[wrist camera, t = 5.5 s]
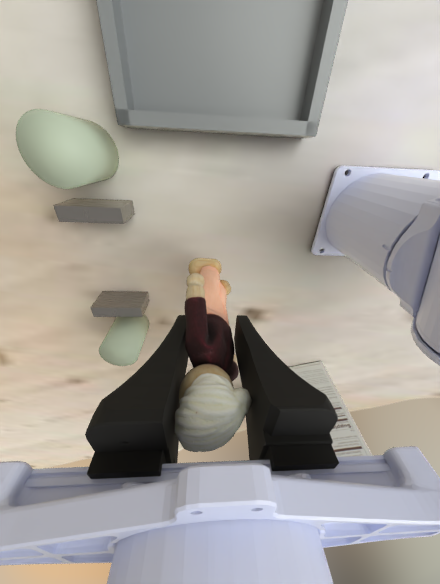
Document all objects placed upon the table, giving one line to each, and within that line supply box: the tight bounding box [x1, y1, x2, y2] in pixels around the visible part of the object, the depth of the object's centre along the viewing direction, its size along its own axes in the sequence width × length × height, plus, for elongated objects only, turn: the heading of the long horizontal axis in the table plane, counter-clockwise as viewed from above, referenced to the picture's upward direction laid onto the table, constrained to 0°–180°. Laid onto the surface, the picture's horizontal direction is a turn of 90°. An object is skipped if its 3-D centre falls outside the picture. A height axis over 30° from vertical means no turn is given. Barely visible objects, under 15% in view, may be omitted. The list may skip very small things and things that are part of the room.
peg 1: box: [99, 315, 149, 366], centre depth 25 cm, size 4×4×5 cm
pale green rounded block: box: [16, 109, 119, 189], centre depth 15 cm, size 4×4×5 cm
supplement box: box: [289, 361, 372, 457], centre depth 28 cm, size 10×9×17 cm
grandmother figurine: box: [175, 258, 252, 452], centre depth 13 cm, size 8×4×13 cm, turn 30°
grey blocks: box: [53, 198, 149, 317], centre depth 21 cm, size 5×11×3 cm, turn 177°
